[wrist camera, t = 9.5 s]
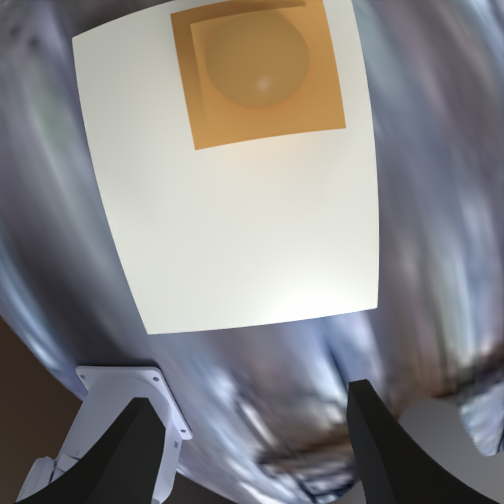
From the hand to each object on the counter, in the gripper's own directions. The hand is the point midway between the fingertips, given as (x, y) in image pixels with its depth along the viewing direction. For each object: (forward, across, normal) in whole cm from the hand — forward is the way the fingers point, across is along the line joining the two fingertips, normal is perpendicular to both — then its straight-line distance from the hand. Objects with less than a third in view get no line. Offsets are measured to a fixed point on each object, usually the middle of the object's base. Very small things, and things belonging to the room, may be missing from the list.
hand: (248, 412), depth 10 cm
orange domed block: (+8, -2, -11) cm, 14 cm away
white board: (+9, 0, -7) cm, 12 cm away
